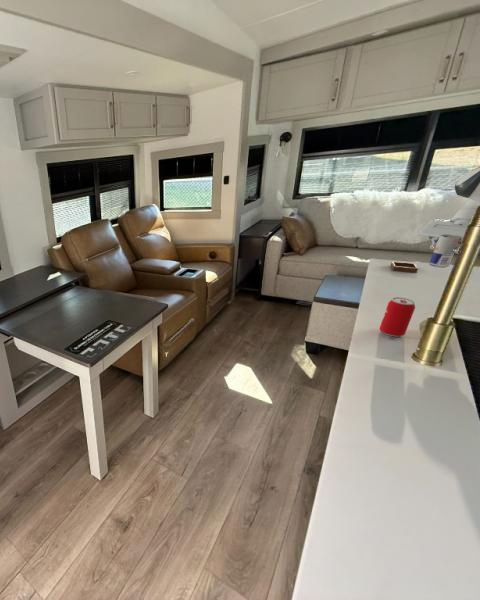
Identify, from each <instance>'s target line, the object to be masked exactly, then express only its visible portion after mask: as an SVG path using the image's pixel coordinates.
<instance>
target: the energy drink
mask: <svg viewBox="0 0 480 600" xmlns="http://www.w3.org/2000/svg"><path fill="white" fill-rule="evenodd" d="M459 240H460V236H457V235H455V236H452V235H441V236H440V237H439V239H438V242H437V243H435V244H436V247H435V249H434V250H433V252H432V255H431V257H430V260H429V263H428V265H429V266H430V267H433V268H440V269H441V268H442V269H444V268H449V266H450V264H451V262H452V260H453V257H454V254H455V253H453V249H454V248H455V247H458V245H459V244H458V242H459Z"/></svg>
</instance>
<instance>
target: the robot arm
mask: <svg viewBox="0 0 480 600" xmlns="http://www.w3.org/2000/svg"><path fill="white" fill-rule="evenodd" d="M454 191H455V195H457V196H459V197H462V198H466V199H467V200H466V201H465V202H464V205H463V207H461V208H460V209H459V210H458V211H457V212H456V213H455V214H454V216H452V218H451V219H446V218H445V219H443V218H436V219H431V220H430V221H428V222H427V224H426V225H425V226H424V227H423V228H422V229H421V230H420V231H419V237H420V239H422V240H426V241H427V240H428V241H431V243H432V244H430V247H429V249H430V250H433V251H434V249H435V247H436V244H437V242H438V239H439V237H440V236H441V235H452V236H455V235H457V236H460V240H459V242H458V245H462V244H461V241H462V238H463V236H464V233H465V230H466V228H467V226H468V224H469V223H470V221H471V219H472V216H473V214H474V212H475V210H476V208H477V206H479V205H480V166H478V167H476V168H474V169H472V170H471V171H469V172H466V173H465V174H464V175H462V176H461V177H460V178H459V179H458V180H457V182H456V183H454ZM459 248H460V246H457V247H455V248H454V249H453V253H454V254H459V253H458V251H459Z"/></svg>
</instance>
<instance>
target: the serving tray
mask: <svg viewBox="0 0 480 600" xmlns="http://www.w3.org/2000/svg"><path fill="white" fill-rule="evenodd" d="M390 267H391V270H392V271H393V272H401V273H402V272H403V273H411V274H412V273H414V274H417V273H418V270H419V267H418V266H417V264H416V263H415V262H403V261H391V263H390Z"/></svg>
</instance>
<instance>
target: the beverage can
mask: <svg viewBox="0 0 480 600" xmlns="http://www.w3.org/2000/svg"><path fill="white" fill-rule="evenodd" d="M415 309H416V305H415V301H414V300H413V299H410V298H407V297H399V296H397V297H393V298H391V300H389V301H388V303H387V306H386V307H385V311H384V313H383V317H382V319H381V322H380V326H379V331H380V332H381V333H382V334H384V335H386V336H389V337H396V338H397V337H403V336H406V332H407V330H408V328H409V325H410V322H411V320H412V318H413V314H414V312H415Z"/></svg>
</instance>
